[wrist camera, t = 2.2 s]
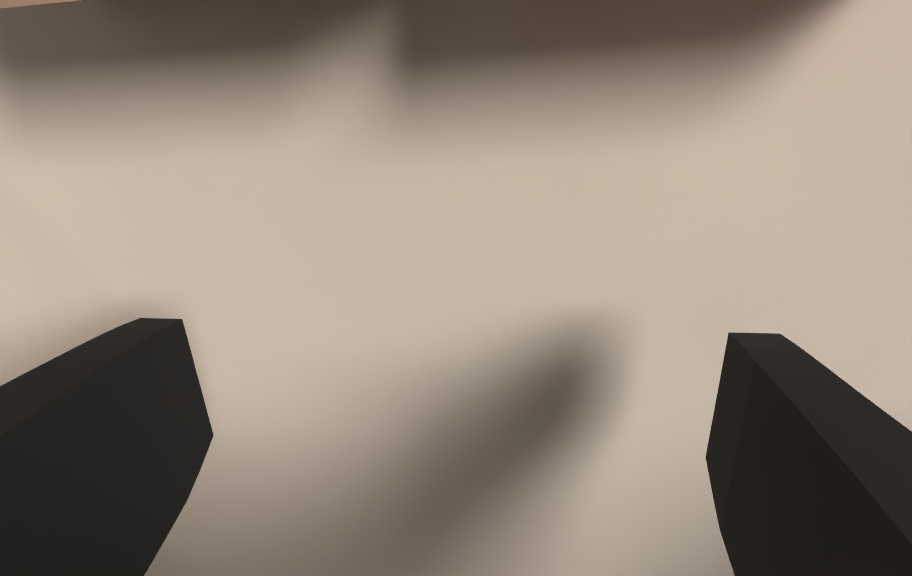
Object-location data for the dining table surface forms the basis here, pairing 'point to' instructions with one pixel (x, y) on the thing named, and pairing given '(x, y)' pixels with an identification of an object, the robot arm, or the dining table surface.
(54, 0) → the wooden block
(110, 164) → the dining table surface
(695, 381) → the dining table surface
